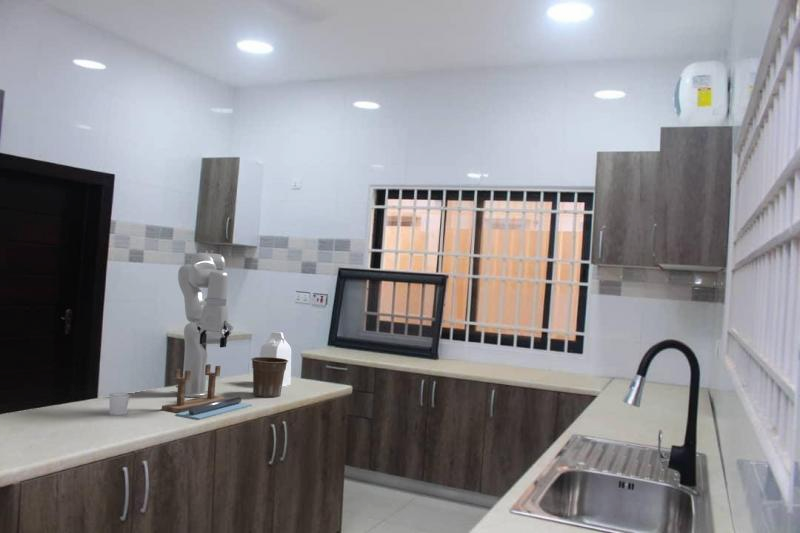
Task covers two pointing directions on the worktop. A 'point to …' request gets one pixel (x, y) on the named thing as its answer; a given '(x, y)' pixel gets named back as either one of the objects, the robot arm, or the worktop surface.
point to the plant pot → (268, 376)
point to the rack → (185, 405)
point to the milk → (278, 353)
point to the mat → (214, 411)
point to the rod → (214, 405)
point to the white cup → (118, 403)
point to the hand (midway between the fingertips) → (212, 345)
